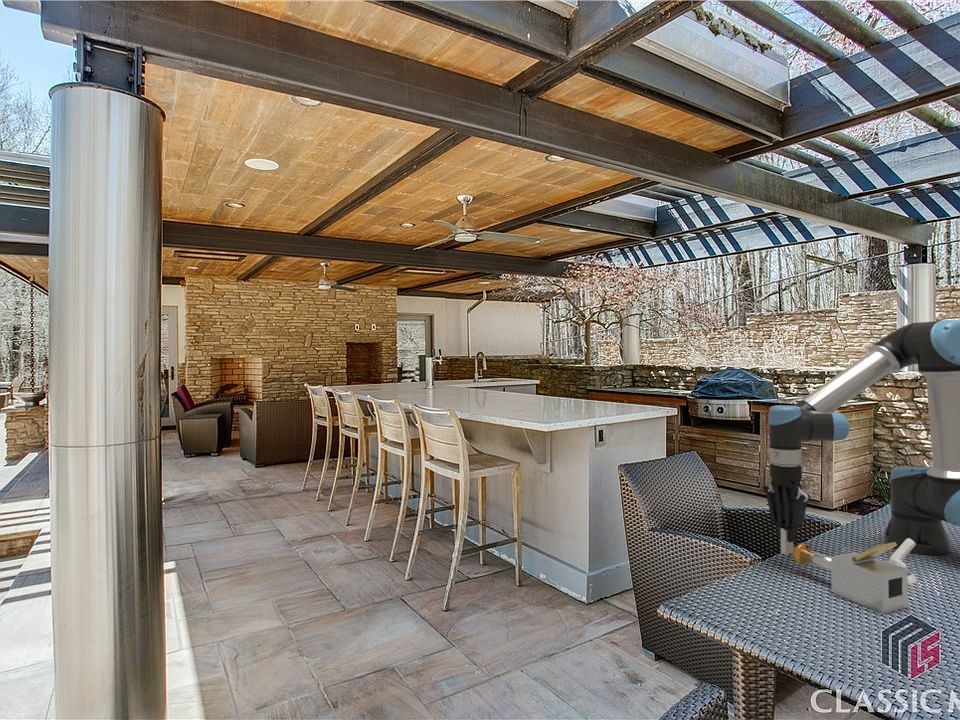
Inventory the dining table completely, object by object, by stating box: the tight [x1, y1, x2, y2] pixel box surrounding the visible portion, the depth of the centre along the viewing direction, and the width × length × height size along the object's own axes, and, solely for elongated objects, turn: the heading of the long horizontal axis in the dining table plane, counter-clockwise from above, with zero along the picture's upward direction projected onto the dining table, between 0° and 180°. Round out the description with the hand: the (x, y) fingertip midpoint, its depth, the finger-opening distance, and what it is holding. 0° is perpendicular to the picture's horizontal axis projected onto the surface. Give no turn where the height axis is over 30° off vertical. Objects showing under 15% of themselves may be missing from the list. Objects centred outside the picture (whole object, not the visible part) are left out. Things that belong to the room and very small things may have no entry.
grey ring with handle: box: [887, 538, 918, 585], centre depth 141 cm, size 8×12×7 cm
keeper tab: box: [852, 542, 897, 562], centre depth 127 cm, size 6×8×1 cm
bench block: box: [830, 551, 909, 614], centre depth 129 cm, size 8×12×8 cm, turn 20°
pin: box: [792, 542, 832, 572], centre depth 140 cm, size 5×12×5 cm, turn 20°
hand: (787, 552), depth 149 cm, fingers closed
